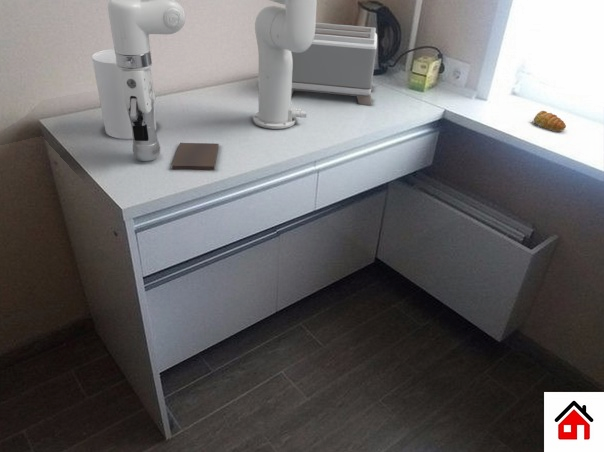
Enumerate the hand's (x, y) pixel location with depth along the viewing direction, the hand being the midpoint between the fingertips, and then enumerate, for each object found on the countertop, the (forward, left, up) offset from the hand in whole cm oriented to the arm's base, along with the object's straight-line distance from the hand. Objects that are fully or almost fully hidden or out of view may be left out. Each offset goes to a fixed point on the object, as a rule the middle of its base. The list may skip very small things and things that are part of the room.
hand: (144, 134), depth 120 cm
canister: (+8, -18, -7) cm, 21 cm away
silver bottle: (0, 0, -7) cm, 7 cm away
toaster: (-49, -54, -7) cm, 73 cm away
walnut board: (-12, -1, -6) cm, 14 cm away
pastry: (-118, -28, -7) cm, 121 cm away
